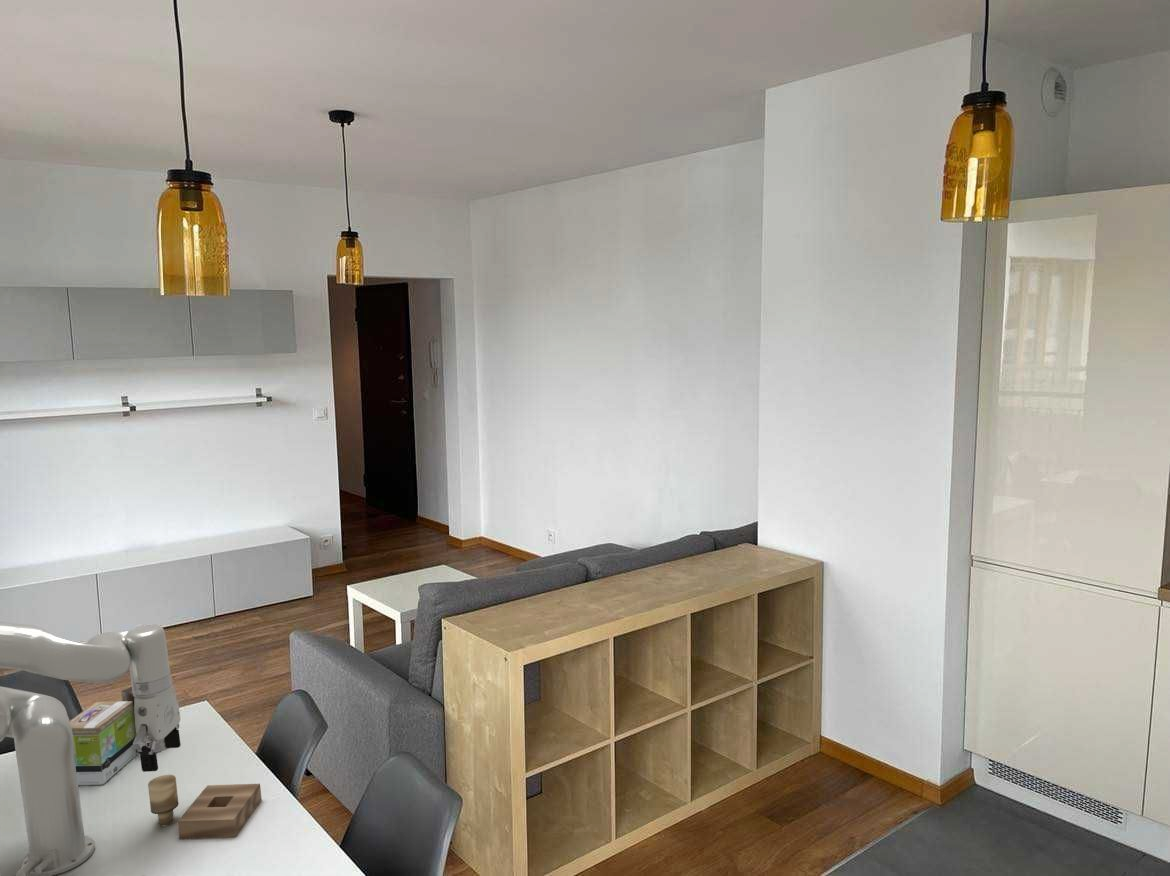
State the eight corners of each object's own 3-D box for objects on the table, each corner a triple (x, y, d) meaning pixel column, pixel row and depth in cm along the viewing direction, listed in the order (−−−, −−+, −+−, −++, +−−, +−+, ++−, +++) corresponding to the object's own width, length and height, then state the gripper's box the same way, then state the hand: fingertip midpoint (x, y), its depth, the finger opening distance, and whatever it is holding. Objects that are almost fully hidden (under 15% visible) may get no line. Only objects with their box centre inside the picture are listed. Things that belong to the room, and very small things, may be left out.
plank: (235, 836, 177) (233, 819, 176) (179, 838, 177) (177, 821, 176) (261, 800, 191) (260, 783, 190) (209, 801, 191) (207, 785, 190)
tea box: (105, 785, 200) (98, 727, 198) (63, 786, 200) (56, 728, 198) (139, 754, 215) (133, 699, 213) (101, 755, 215) (94, 700, 213)
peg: (172, 828, 181) (168, 787, 180) (147, 829, 181) (142, 788, 180) (184, 814, 186) (180, 774, 185) (160, 815, 186) (155, 775, 185)
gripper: (148, 701, 171) (158, 779, 173) (188, 666, 188) (197, 738, 190) (111, 703, 171) (122, 781, 173) (155, 668, 188) (164, 739, 191)
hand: (162, 758), depth 182 cm, fingers open, 9 cm apart
